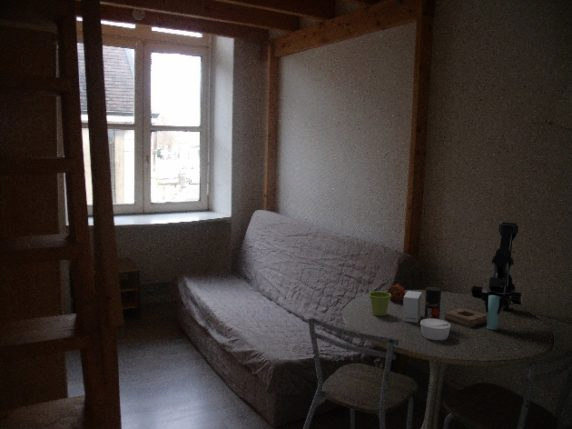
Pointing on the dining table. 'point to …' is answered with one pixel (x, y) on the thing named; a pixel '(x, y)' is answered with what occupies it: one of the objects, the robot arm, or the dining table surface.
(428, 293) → the deodorant
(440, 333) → the ramekin
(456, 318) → the socket block
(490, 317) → the peg
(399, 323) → the dining table surface
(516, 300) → the robot arm
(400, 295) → the dragon fruit
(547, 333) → the dining table surface
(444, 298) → the dining table surface
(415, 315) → the skincare box
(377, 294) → the plant pot
